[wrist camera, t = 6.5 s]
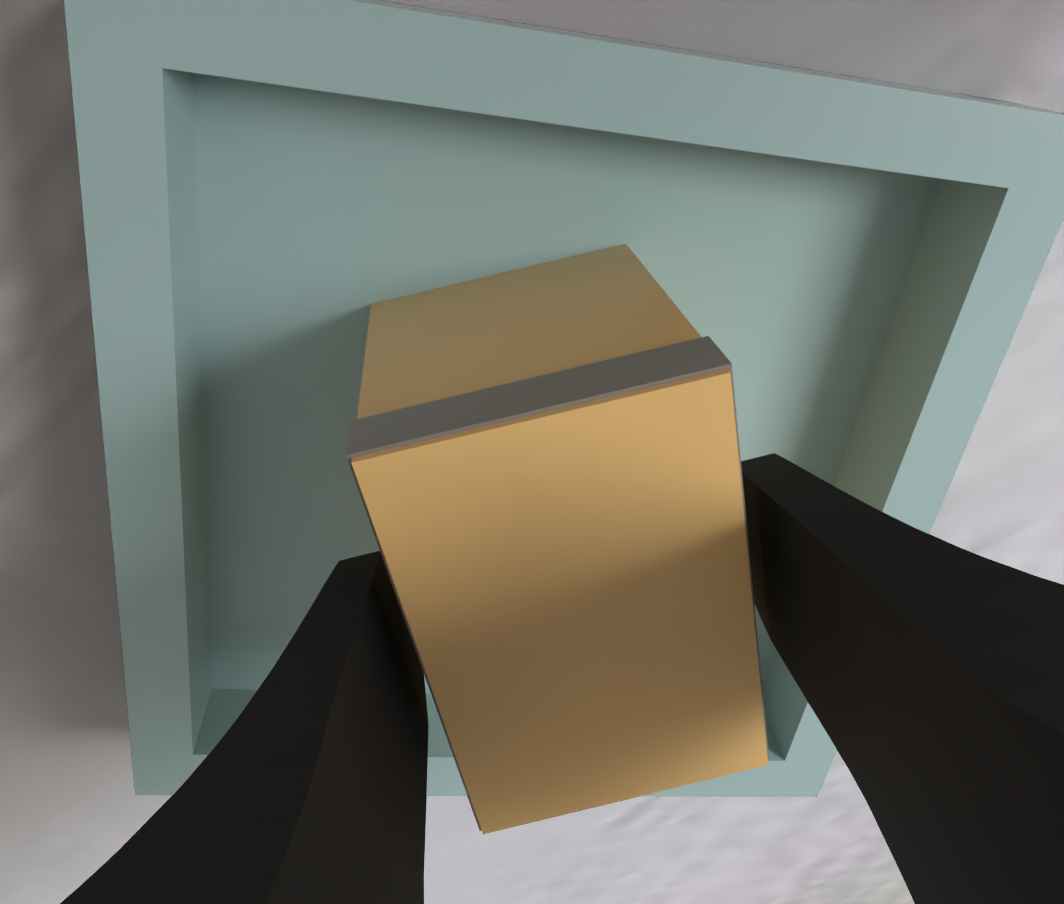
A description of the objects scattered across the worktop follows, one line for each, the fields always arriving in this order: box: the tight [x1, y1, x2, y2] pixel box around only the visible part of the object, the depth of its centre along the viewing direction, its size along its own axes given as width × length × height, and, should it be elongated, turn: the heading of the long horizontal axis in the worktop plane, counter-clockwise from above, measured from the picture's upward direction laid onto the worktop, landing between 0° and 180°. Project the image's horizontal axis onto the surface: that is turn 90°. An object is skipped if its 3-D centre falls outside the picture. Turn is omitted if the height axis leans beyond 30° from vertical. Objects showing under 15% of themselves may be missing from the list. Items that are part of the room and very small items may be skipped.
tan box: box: [346, 244, 769, 834], centre depth 13 cm, size 4×6×5 cm
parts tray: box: [64, 0, 1064, 797], centre depth 14 cm, size 13×13×2 cm
